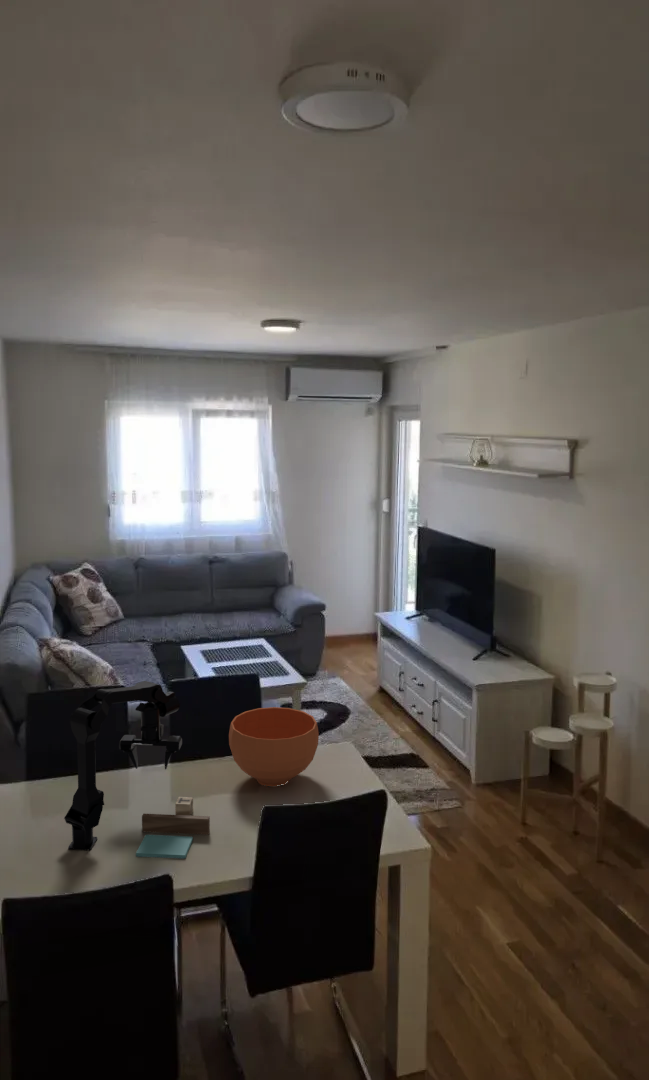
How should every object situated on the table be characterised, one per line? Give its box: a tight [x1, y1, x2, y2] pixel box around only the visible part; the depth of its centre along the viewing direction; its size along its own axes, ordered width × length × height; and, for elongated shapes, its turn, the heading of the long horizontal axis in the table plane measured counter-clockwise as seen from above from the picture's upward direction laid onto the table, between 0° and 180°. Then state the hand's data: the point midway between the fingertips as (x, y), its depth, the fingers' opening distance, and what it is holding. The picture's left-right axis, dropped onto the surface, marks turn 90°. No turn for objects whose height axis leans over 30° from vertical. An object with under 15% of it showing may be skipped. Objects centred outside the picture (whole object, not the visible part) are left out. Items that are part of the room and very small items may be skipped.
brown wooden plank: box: [141, 813, 211, 836], centre depth 234 cm, size 2×20×5 cm, turn 87°
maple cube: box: [174, 796, 194, 816], centre depth 245 cm, size 4×4×5 cm
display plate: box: [135, 834, 194, 859], centre depth 225 cm, size 10×14×1 cm
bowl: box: [228, 706, 320, 787], centre depth 268 cm, size 30×30×20 cm
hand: (151, 768), depth 248 cm, fingers open, 9 cm apart
